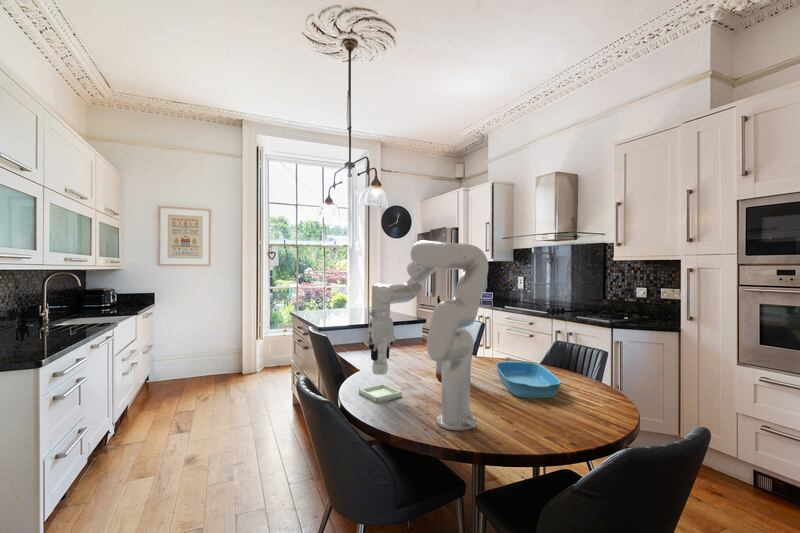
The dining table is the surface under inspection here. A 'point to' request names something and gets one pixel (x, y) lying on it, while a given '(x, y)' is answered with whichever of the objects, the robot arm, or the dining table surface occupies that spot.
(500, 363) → the casserole dish
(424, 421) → the dining table surface
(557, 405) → the dining table surface
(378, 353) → the plastic bottle
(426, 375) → the dining table surface
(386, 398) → the tray
